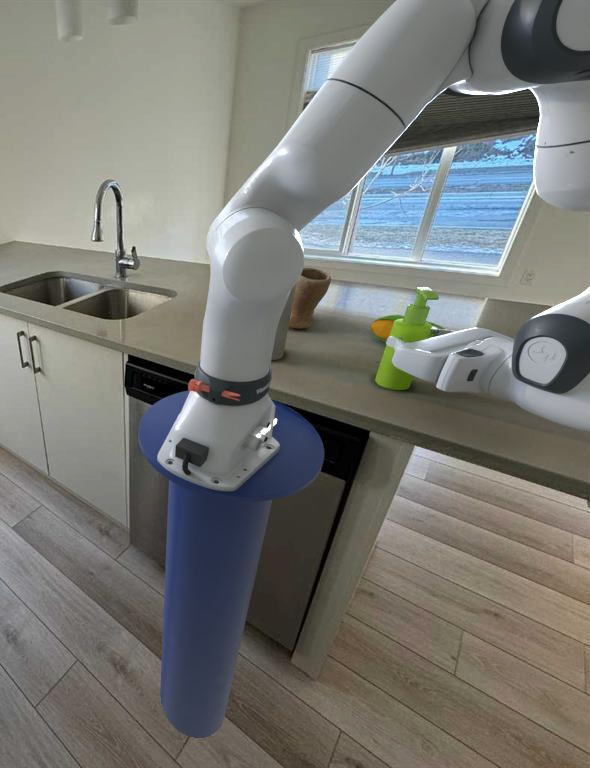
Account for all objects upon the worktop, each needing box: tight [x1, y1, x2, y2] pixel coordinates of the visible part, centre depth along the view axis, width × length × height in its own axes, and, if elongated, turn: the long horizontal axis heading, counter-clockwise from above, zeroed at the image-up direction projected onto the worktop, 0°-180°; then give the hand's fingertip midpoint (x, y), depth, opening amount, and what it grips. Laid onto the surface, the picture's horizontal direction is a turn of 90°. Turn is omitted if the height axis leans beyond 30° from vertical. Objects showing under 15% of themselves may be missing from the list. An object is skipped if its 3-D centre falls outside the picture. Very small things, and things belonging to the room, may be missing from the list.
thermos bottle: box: [271, 283, 297, 361], centre depth 93 cm, size 8×8×28 cm
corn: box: [370, 314, 446, 344], centre depth 93 cm, size 7×8×20 cm
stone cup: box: [288, 267, 332, 330], centre depth 111 cm, size 15×12×15 cm
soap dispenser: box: [374, 287, 440, 391], centre depth 78 cm, size 6×7×20 cm
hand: (408, 335), depth 78 cm, fingers open, 8 cm apart
